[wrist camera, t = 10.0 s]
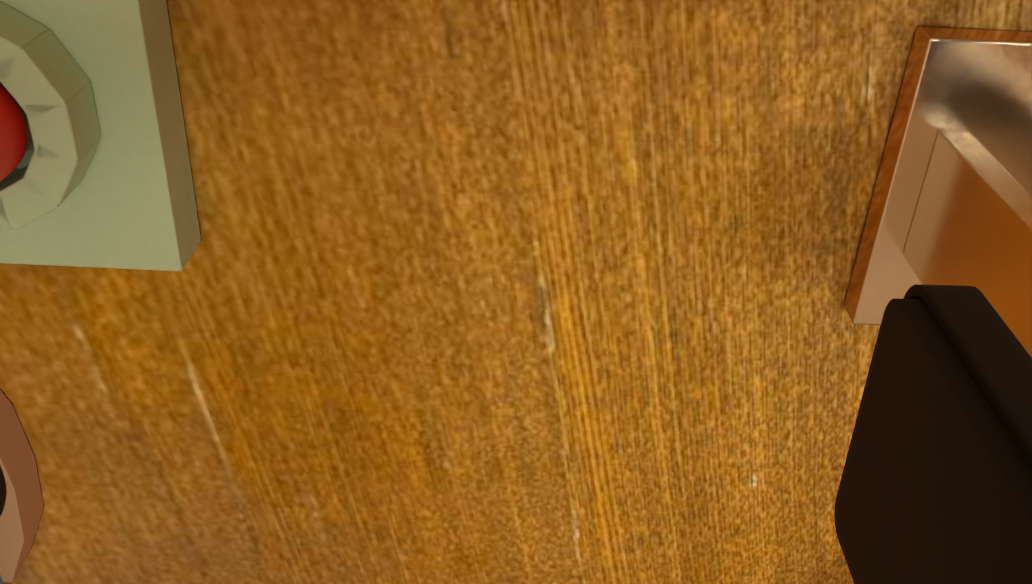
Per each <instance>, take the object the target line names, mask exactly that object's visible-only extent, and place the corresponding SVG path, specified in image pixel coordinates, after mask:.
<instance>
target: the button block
mask: <svg viewBox="0 0 1032 584" xmlns="http://www.w3.org/2000/svg"><path fill="white" fill-rule="evenodd" d="M0 85H1V86H2V87H3V88H4V89H5V90H6V91H7V92H8V94H9V95H10V96H11V97H12V99H13V100H14V101H15V103H16V104H17V106H18V108H19V109H20V112H21V114H22V116H23V118H24V122H25V125H26V130H27V146H26V151H25V154H24V156H23V158H22V160H21V162H20V163H19V165H18V166H17V167H16V168H15V169H14V170H13V171H12V172H11V173H10V174H9V175H8V176H6V177H5V178H4V179H3V180H2V181H1V182H0V263H11V264H32V265H54V266H76V267H98V268H120V269H141V270H163V271H182V270H183V268H184V266H185V265H186V263H187V262H188V260H189V258H190V257H191V255H192V253H193V252H194V250H195V248H196V247H197V245H198V243H199V242H200V240H201V235H200V228H199V221H198V215H197V208H196V201H195V194H194V187H193V180H192V174H191V167H190V160H189V153H188V146H187V139H186V133H185V126H184V119H183V112H182V105H181V98H180V92H179V85H178V78H177V71H176V64H175V57H174V51H173V44H172V37H171V30H170V23H169V16H168V10H167V3H166V0H0Z"/></svg>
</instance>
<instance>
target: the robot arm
mask: <svg viewBox="0 0 1032 584" xmlns="http://www.w3.org/2000/svg"><path fill="white" fill-rule="evenodd" d="M6 495H7V490H6V481H5V477H4V474H3V471H2V468H1V465H0V516H1V514H2V512H3V509H4V506H5V502H6ZM834 515H835V527H836V533H837V537H838V540H839V543H840V545H841V548H842V551H843V554H844V556H845V559H846V562H847V564H848V567H849V570H850V573H851V575H852V578H853V581H854V584H1032V358H1031V356H1030V355H1029V354H1028V352H1027V351H1026V350H1025V348H1024V347H1023V346H1022V344H1021V343H1020V342H1019V341H1018V339H1017V338H1016V337H1015V335H1014V334H1013V333H1012V331H1011V330H1010V329H1009V327H1008V326H1007V325H1006V323H1005V322H1004V321H1003V320H1002V318H1001V317H1000V316H999V314H998V313H997V312H996V310H995V309H994V308H993V306H992V305H991V304H990V302H989V301H988V300H987V299H986V297H985V296H984V295H983V293H982V292H981V291H980V290H979V289H978V288H976V287H975V286H961V285H920V284H915V285H913V286H911V287H910V288H909V289H908V291H907V292H906V294H905V296H904V298H903V299H898V298H893V299H892V300H890V301H889V303H888V304H887V306H886V308H885V311H884V314H883V318H882V322H881V326H880V330H879V334H878V338H877V342H876V345H875V349H874V353H873V357H872V361H871V365H870V369H869V373H868V377H867V380H866V384H865V388H864V392H863V396H862V400H861V404H860V408H859V412H858V416H857V419H856V423H855V427H854V431H853V435H852V439H851V443H850V447H849V451H848V454H847V458H846V462H845V466H844V470H843V474H842V478H841V482H840V486H839V490H838V493H837V497H836V502H835V514H834Z"/></svg>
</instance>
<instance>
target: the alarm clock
mask: <svg viewBox="0 0 1032 584" xmlns="http://www.w3.org/2000/svg"><path fill="white" fill-rule="evenodd" d="M0 465H1V468H2V471H3V474H4V477H5V481H6V490H7V495H6V502H5V506H4V509H3V512H2V514H1V516H0V584H11V583H12V581H13V580H14V578H15V576H16V574H17V573H18V571H19V569H20V568H21V566H22V564H23V563H24V561H25V559H26V557H27V556H28V554H29V552H30V551H31V548H32V545H33V541H34V538H35V535H36V532H37V528H38V525H39V522H40V518H41V515H42V512H43V508H44V506H43V500H42V494H41V489H40V483H39V477H38V472H37V466H36V460H35V457H34V454H33V452H32V450H31V447H30V445H29V443H28V440H27V438H26V436H25V433H24V431H23V429H22V426H21V424H20V422H19V419H18V417H17V415H16V412H15V410H14V408H13V405H12V404H11V402H10V401H9V400H8V399H7V398H6V396H5V395H4V394H3V393H2V392H1V391H0Z"/></svg>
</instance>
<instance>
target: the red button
mask: <svg viewBox="0 0 1032 584" xmlns="http://www.w3.org/2000/svg"><path fill="white" fill-rule="evenodd" d="M26 146H27V130H26V125H25V122H24V118H23V116H22V114H21V112H20V109H19V108H18V106H17V104H16V103H15V101H14V100H13V99H12V97H11V96H10V95H9V94H8V92H7V91H6V90H5V89H4V88H3V87H2V86H1V85H0V182H1V181H2V180H3V179H4V178H5V177H6V176H8V175H9V174H10V173H11V172H12V171H13V170H14V169H15V168H16V167H17V166H18V165H19V163H20V162H21V160H22V158H23V156H24V154H25V151H26Z"/></svg>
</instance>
